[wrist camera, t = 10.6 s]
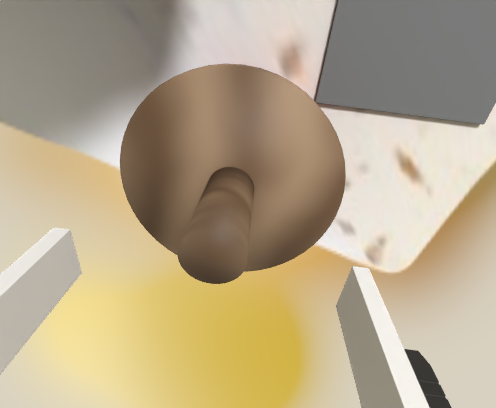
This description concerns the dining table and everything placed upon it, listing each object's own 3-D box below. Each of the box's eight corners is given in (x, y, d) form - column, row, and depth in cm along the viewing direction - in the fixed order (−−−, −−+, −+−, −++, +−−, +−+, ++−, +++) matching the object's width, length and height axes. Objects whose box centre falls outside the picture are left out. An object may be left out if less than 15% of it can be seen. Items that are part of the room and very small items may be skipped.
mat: (315, 101, 30) (315, 102, 30) (371, -149, 21) (372, -152, 21) (481, 123, 30) (483, 124, 30) (609, -118, 21) (615, -121, 20)
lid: (135, 251, 26) (80, 338, 19) (112, 47, 18) (-9, 50, 10) (313, 274, 26) (331, 371, 19) (374, 81, 18) (455, 111, 10)
